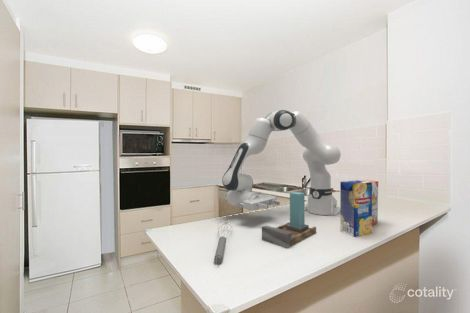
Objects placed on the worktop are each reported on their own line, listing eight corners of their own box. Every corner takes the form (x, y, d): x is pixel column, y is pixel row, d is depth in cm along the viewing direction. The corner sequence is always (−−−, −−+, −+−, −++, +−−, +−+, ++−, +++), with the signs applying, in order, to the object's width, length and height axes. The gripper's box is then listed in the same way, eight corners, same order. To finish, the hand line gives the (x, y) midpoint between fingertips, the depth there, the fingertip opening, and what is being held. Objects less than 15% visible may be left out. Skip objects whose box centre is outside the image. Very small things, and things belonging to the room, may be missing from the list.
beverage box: (372, 233, 96) (372, 182, 96) (354, 237, 92) (354, 183, 92) (357, 228, 103) (357, 180, 102) (340, 231, 98) (340, 181, 98)
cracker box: (367, 229, 101) (367, 183, 101) (353, 226, 106) (353, 181, 105) (378, 223, 110) (379, 180, 110) (365, 220, 114) (365, 179, 114)
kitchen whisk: (207, 268, 68) (207, 247, 68) (219, 230, 102) (219, 216, 101) (227, 268, 68) (227, 248, 68) (232, 230, 101) (232, 217, 101)
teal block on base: (294, 225, 102) (294, 191, 102) (308, 228, 97) (308, 193, 97) (285, 228, 98) (285, 193, 97) (300, 232, 93) (300, 195, 92)
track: (291, 226, 106) (291, 215, 106) (316, 232, 97) (316, 221, 97) (261, 239, 90) (261, 227, 90) (287, 248, 81) (287, 234, 81)
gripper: (237, 197, 109) (259, 201, 99) (263, 192, 123) (285, 195, 113) (237, 210, 109) (259, 216, 99) (263, 203, 123) (285, 208, 113)
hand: (273, 205), depth 106 cm, fingers open, 8 cm apart
